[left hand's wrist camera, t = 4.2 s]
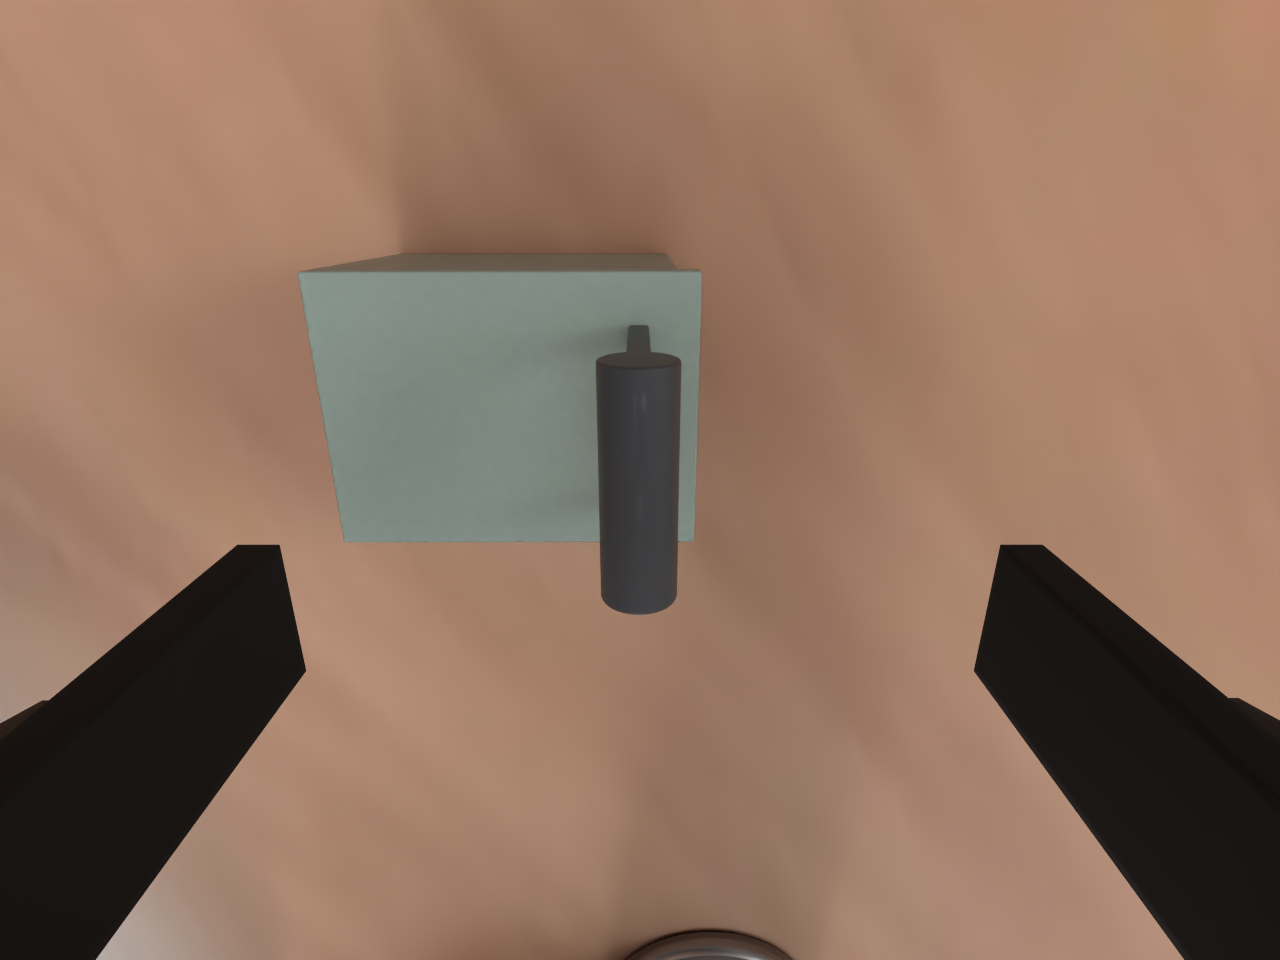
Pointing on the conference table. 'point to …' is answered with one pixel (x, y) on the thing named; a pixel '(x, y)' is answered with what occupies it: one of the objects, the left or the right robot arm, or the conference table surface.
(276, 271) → the conference table surface
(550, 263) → the chest
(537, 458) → the lid
